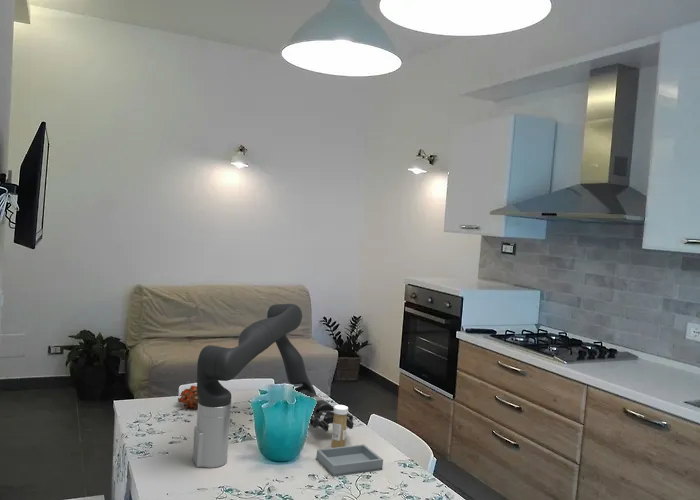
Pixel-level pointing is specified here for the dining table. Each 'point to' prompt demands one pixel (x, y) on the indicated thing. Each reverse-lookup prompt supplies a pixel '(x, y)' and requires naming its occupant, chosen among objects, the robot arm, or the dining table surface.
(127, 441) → the dining table surface
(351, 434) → the dining table surface
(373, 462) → the box
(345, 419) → the sprinkles bottle
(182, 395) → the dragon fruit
